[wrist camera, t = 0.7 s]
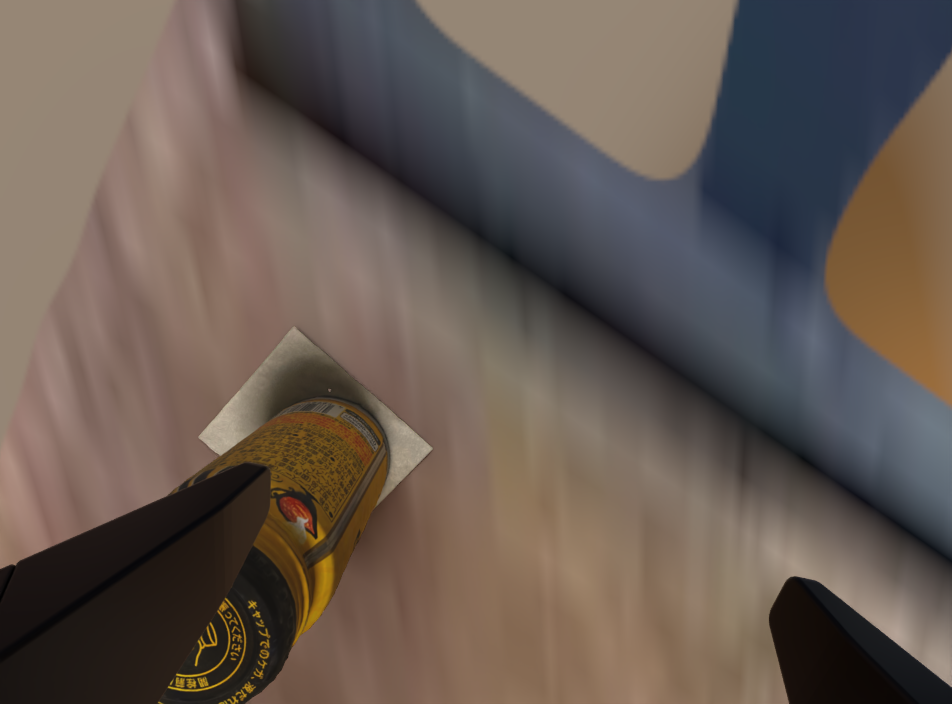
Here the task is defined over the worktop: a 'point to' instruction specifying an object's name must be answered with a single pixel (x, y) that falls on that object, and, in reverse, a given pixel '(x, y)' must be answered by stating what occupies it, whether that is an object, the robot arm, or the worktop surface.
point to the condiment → (293, 511)
